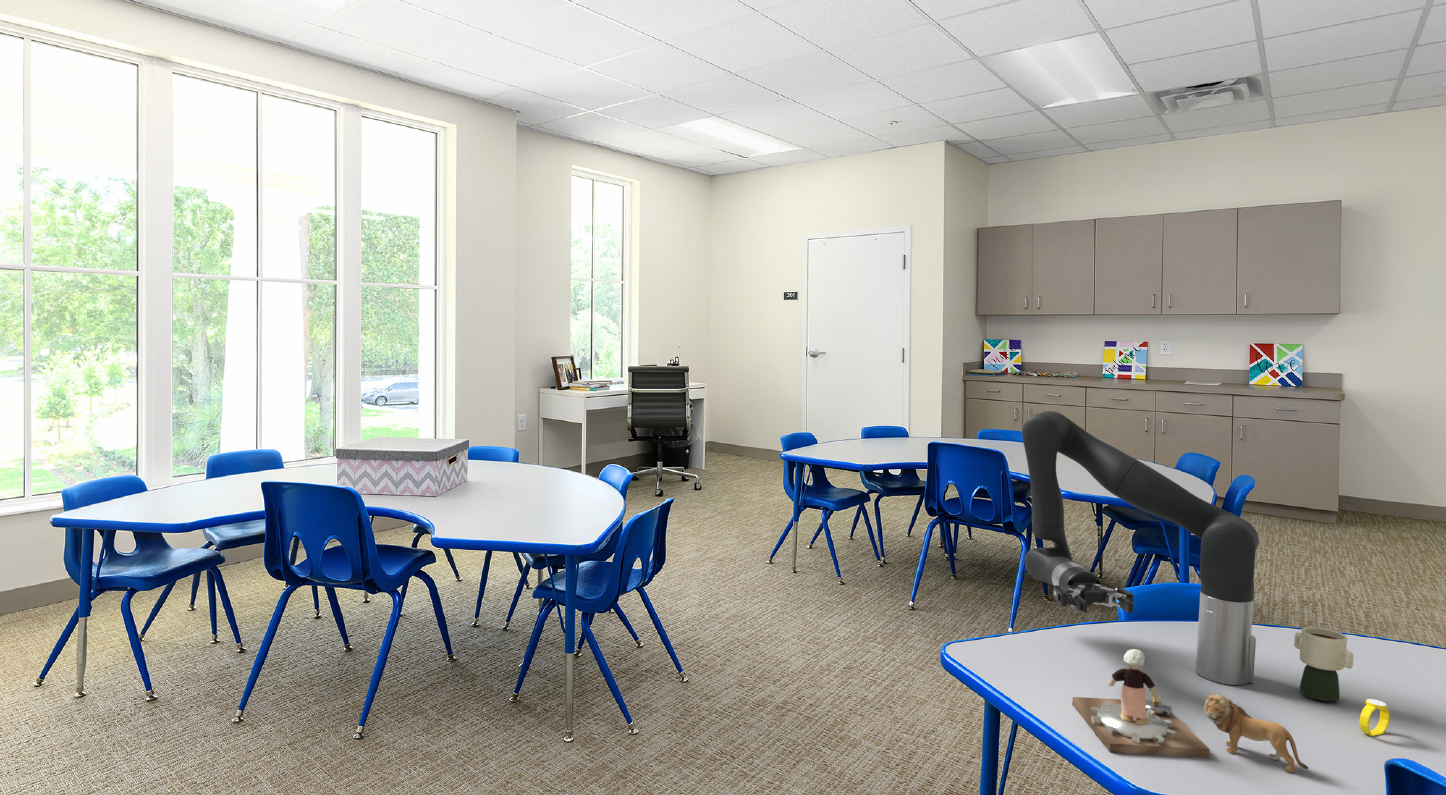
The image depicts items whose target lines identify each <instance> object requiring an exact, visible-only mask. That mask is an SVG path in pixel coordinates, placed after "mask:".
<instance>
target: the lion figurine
mask: <svg viewBox="0 0 1446 795" xmlns="http://www.w3.org/2000/svg"><path fill="white" fill-rule="evenodd" d="M1203 711H1204V715H1205V717H1206V718H1207V719H1208V720H1209V721H1210V722H1212V723H1213V724H1214V725H1215V726H1216V728H1217V730H1218V731H1221V732H1223V733H1226V734H1228V736H1229V741H1226V742H1225V744H1226V746H1227V747H1228V748H1226V750H1225V751H1226V752H1227V753H1228V754H1229V755H1231V754H1232V755H1235V754H1236V753H1237V752H1238V750H1239V746H1238V743H1239V741H1240V739H1241V737H1244V738H1246V739H1249V740H1251V741H1255V742H1266V741H1268V742H1270V744H1271V746H1272V748H1273V750H1275V751H1276V752H1275V753H1269V755H1268V758H1270V759H1271V760H1275V761H1276V760H1277V761H1278V760H1279V759H1280V758H1283V759H1284V760H1285V762H1286V763H1287V764H1288V765H1285V766H1284V767H1283V768H1284V771H1285V772H1287V773H1291V774H1293V773H1294V772H1295V770H1296V765H1295V764H1296V763H1297V765H1298V766H1299V767H1301V768H1302V769H1303V770H1304V769H1305V770H1309V767H1308V765H1306V764H1305V763H1303V762H1302V761H1301V760H1300V758H1299V754H1298V751H1297V750H1298V749H1297V745H1296V742H1295V740H1294V738H1293V736H1292V734H1291V733H1290V732H1289V730H1287V729H1286V727H1285V726H1283V725H1281V724H1279V723H1278V722H1274V721H1266V720H1262V719H1257V718H1255V717H1251V716H1250V715H1249V714H1248V713H1247V712H1246V711H1245V709H1244V708H1242V707H1241V706H1239V705H1237V704H1236V703H1234V702H1233V701H1232V700H1231V699H1228V698H1226V697H1225V696H1223V695H1220V694H1211V695H1208V696H1205V703H1204V707H1203ZM1287 742H1289V744H1290V747H1291V750H1292V753H1293V756H1294V757H1293V756H1292V755H1291V754H1290V752H1289V750H1288V749H1287V748H1288V747H1287ZM1295 761H1296V763H1295Z"/></svg>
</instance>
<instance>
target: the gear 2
mask: <svg viewBox="0 0 1446 795" xmlns="http://www.w3.org/2000/svg"><path fill="white" fill-rule="evenodd" d="M1159 701H1160V694H1158V697H1157V698H1154V697H1153V696H1152V695H1151V700H1149V699H1146V711H1147V710H1149V709H1151V710H1154V711H1156V715H1157V716H1165V717H1167V718H1169V717H1170V714H1171V712H1172V710H1173V709H1172V706H1171V705H1169V704H1165V703H1163V702H1162V703H1160V702H1161V701H1160V702H1159Z"/></svg>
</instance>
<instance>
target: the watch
mask: <svg viewBox="0 0 1446 795" xmlns="http://www.w3.org/2000/svg"><path fill="white" fill-rule="evenodd" d="M1365 704H1366V705H1365V706H1364V707H1363V708H1362V710H1361V713H1360V716H1359V721H1358V722H1359V727H1360V731H1361V732H1362V733H1363V734H1364V733H1365V734H1364V735H1366V734H1368V735H1367V736H1369V735H1370V736H1369V737H1371V736H1373V737H1376V736H1375V735H1377V734H1378V735H1377V736H1380V735H1379V734H1381V735H1382V734H1383V735H1384V733H1386V731H1387V729H1388V727H1389V724H1390V718H1391V716H1390V710H1389V708H1388V706H1387V704H1386V703H1385V702H1384V701H1380V700H1377V699H1375V698H1374V699H1373V698H1367V699H1366V700H1365ZM1377 709H1378V710H1379V720H1378V722H1377V725H1376V726H1375V727H1374V729H1370V719H1371V717H1372V714H1373V713H1374V712H1375V711H1376V710H1377ZM1370 731H1371V732H1370Z"/></svg>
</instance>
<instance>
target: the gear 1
mask: <svg viewBox="0 0 1446 795" xmlns="http://www.w3.org/2000/svg"><path fill="white" fill-rule="evenodd" d="M1121 713H1122V712H1121V705H1112V704H1110V703H1109V702H1102V707H1101V708H1097V707H1093V706H1092V707H1091V708H1090V714H1093V715H1096V716H1091V722H1092V723H1093V724H1095V725H1102V726H1103V727H1104V728H1106V733H1107V734H1109V735H1111V736H1113V735H1116V734H1117V735H1120V736H1123V737H1126V738H1130V739H1131V740H1132V742H1133V743H1138V744H1139V742H1140V741H1154V742H1155V743H1157V744H1158V745H1161V744H1164V738H1165V737H1168V738H1171V739H1175V735H1176V731H1173V730H1170V729H1168V728H1172V729H1173V723H1172V722H1171V721H1170V720H1162V719H1161V718H1160V717H1158V716H1157V715H1156V711H1154V710H1151V709H1149V710H1147V711H1146V717H1147V718H1148V720H1149V723H1148V724H1146V725H1140V724H1137V723H1136V722H1135V721H1136V718H1137V717H1133V719H1132V721H1131V722H1126V721H1123V720H1122V719H1121V716H1120V715H1121Z"/></svg>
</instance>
